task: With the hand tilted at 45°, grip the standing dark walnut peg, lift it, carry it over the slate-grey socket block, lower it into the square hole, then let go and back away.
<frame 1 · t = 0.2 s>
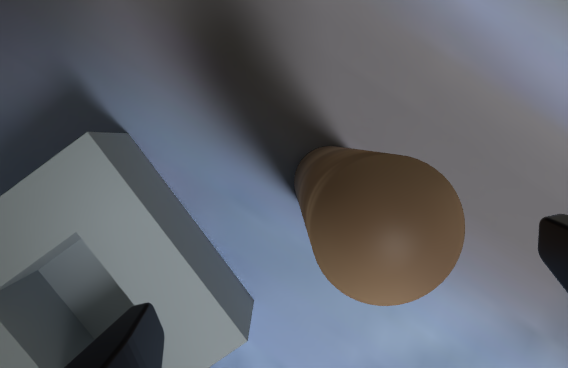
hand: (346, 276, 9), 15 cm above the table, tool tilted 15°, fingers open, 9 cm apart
walnut peg: (329, 181, 24), on the table
socket block: (110, 277, 24), on the table
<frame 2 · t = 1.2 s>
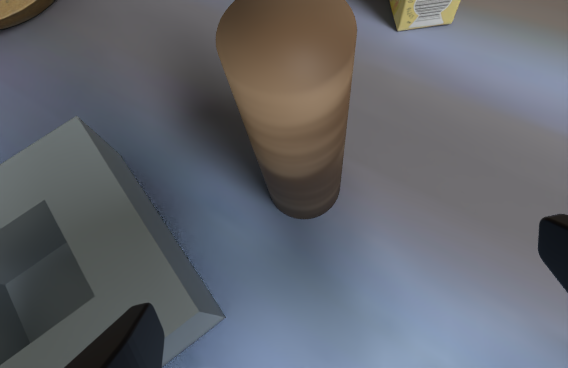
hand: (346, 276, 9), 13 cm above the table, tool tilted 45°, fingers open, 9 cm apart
walnut peg: (304, 185, 24), on the table
socket block: (75, 295, 23), on the table
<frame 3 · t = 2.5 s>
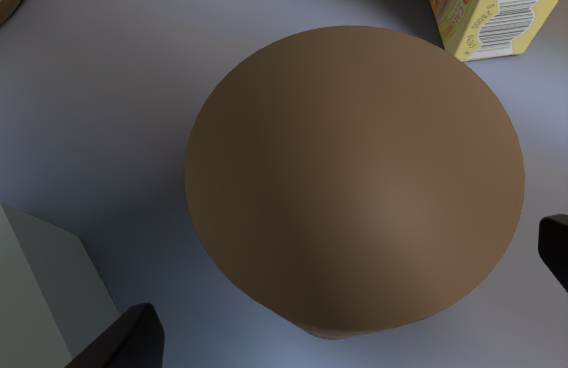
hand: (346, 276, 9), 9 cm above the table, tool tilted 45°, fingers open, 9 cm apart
walnut peg: (330, 285, 17), on the table
candy box: (461, 4, 23), on the table
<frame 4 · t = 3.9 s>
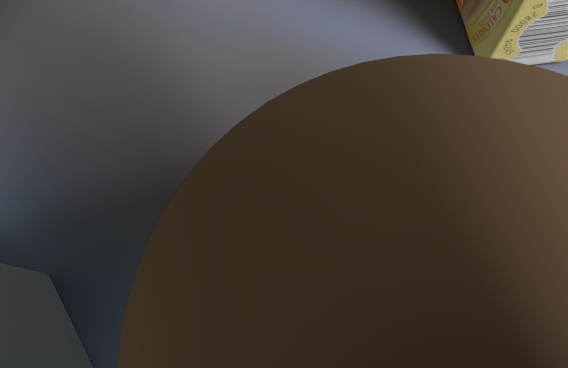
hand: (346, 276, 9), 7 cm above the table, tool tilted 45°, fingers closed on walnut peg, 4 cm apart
walnut peg: (345, 339, 14), on the table, touching gripper
candy box: (490, 3, 20), on the table
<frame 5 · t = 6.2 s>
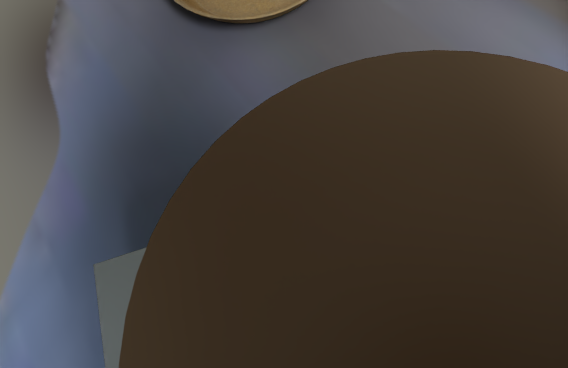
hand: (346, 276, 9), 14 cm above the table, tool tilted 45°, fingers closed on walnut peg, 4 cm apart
walnut peg: (346, 338, 14), point 7 cm above the table, touching gripper
socket block: (274, 358, 21), on the table
when the fingers open (8 cm above the table, at t = 8.4 s): walnut peg stays where it is, resting on socket block.
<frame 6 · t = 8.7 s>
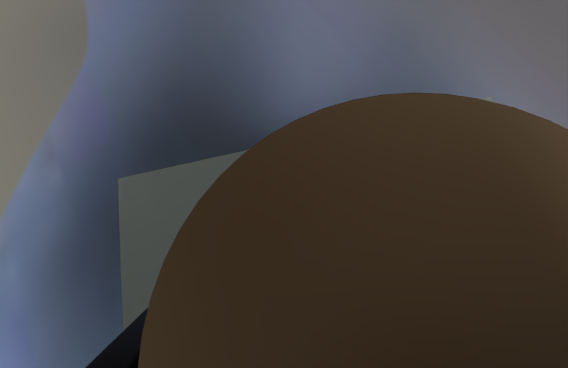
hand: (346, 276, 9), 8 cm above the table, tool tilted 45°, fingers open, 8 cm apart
walnut peg: (345, 339, 15), point 1 cm above the table, touching socket block
socket block: (344, 339, 15), on the table
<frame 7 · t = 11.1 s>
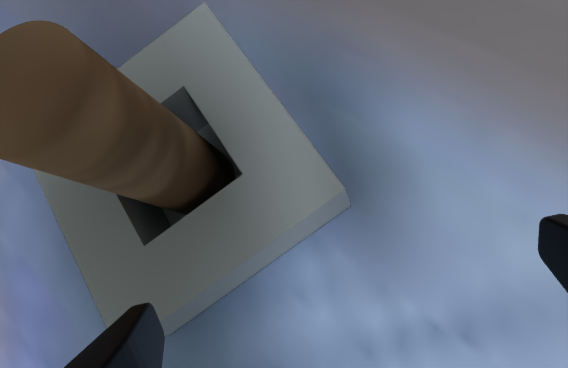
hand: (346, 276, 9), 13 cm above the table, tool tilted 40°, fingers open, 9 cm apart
walnut peg: (201, 181, 24), point 1 cm above the table, touching socket block
socket block: (204, 183, 24), on the table
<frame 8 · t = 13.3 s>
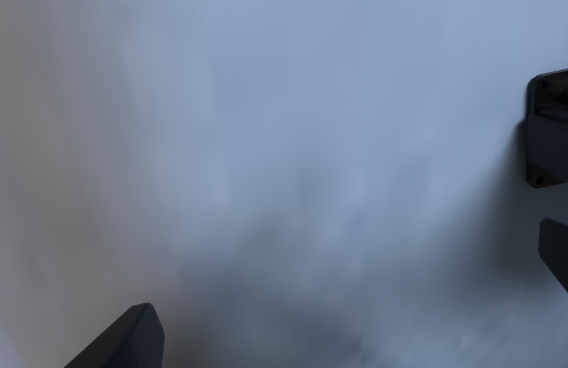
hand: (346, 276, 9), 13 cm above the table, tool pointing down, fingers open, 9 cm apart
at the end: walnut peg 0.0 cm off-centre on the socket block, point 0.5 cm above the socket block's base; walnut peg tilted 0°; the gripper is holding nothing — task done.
